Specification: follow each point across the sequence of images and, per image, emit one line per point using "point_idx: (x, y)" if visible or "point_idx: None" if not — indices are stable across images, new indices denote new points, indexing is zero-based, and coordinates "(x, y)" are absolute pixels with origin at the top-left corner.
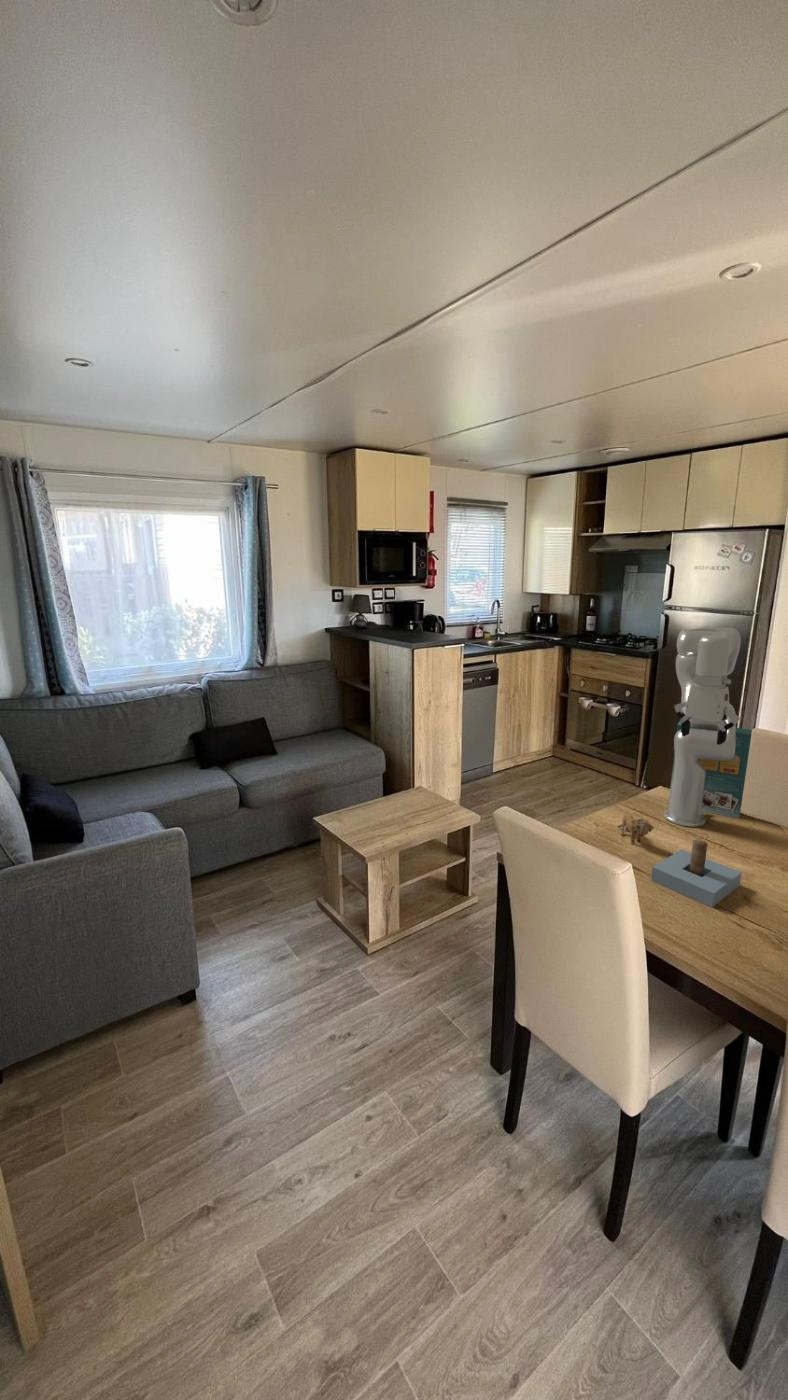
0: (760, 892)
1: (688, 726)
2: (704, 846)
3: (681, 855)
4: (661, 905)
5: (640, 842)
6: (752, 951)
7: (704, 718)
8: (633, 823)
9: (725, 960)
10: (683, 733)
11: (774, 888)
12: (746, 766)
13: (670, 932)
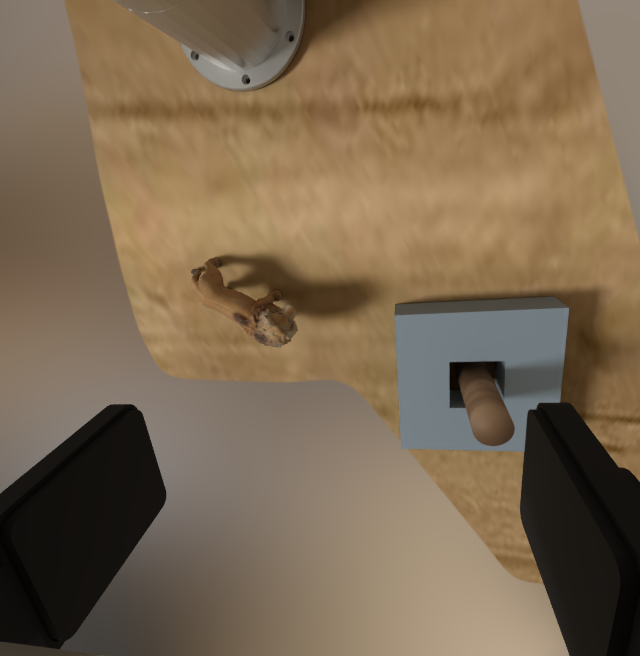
0: (606, 284)
1: (78, 516)
2: (511, 436)
3: (413, 348)
4: (466, 490)
5: (280, 298)
6: None
7: None
8: (250, 336)
9: None
10: (145, 526)
11: (631, 232)
12: None
13: (520, 547)
